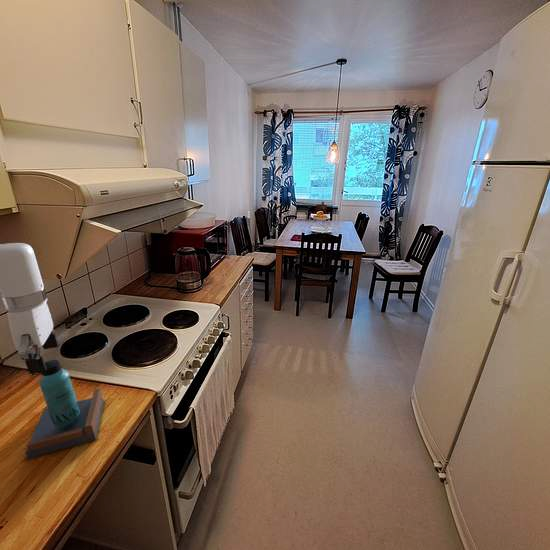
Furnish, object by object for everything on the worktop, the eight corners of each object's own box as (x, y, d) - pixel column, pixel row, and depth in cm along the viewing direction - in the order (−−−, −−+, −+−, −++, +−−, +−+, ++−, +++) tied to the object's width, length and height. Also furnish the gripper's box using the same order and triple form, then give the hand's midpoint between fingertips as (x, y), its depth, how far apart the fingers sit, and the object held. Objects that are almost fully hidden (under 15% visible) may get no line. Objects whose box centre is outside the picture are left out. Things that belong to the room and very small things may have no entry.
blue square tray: (28, 458, 72) (21, 443, 70) (46, 415, 84) (40, 401, 82) (96, 439, 77) (91, 425, 75) (103, 401, 89) (100, 388, 87)
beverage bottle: (48, 429, 77) (25, 370, 70) (70, 409, 83) (51, 353, 76) (68, 434, 76) (46, 375, 68) (88, 414, 82) (71, 357, 74)
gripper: (20, 284, 71) (38, 342, 77) (-16, 319, 56) (11, 386, 62) (56, 281, 74) (71, 337, 80) (31, 313, 59) (52, 379, 65)
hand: (45, 359), depth 71 cm, fingers open, 9 cm apart
